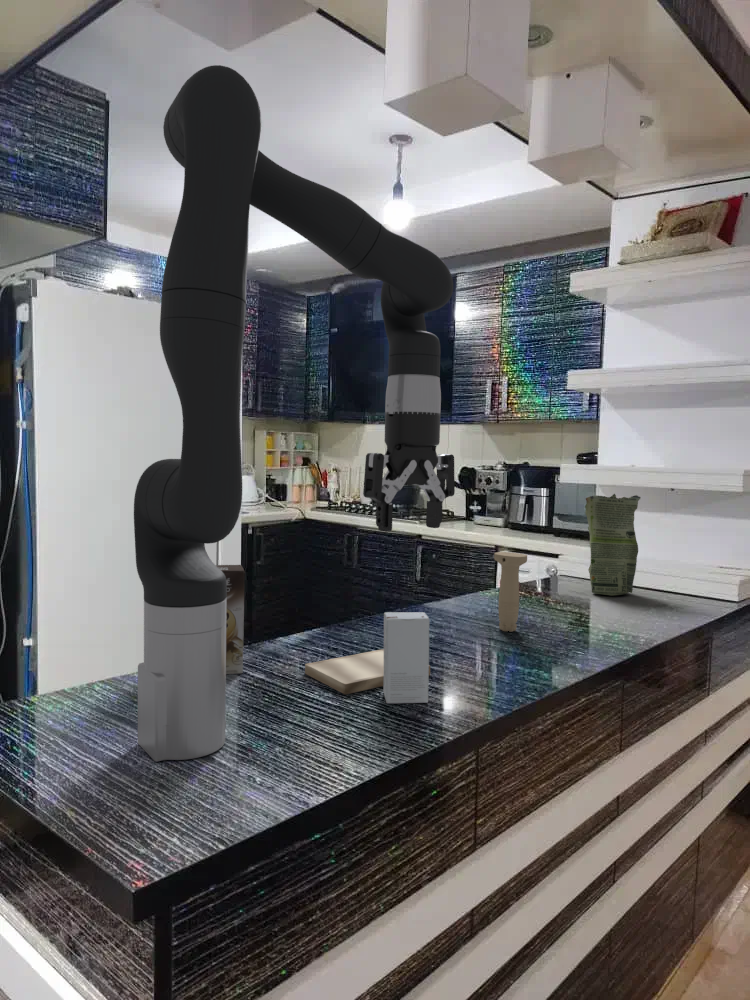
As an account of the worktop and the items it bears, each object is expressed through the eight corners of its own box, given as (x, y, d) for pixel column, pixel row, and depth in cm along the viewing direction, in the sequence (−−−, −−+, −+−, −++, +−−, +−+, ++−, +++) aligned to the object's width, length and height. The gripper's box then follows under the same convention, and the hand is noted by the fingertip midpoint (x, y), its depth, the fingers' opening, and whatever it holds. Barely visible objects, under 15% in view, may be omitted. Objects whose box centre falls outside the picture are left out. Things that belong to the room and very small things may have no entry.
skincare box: (423, 693, 102) (426, 610, 101) (429, 704, 97) (431, 618, 96) (381, 693, 101) (383, 610, 100) (384, 705, 97) (386, 618, 96)
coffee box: (182, 677, 106) (182, 571, 105) (182, 664, 112) (182, 564, 111) (244, 674, 108) (245, 569, 107) (240, 661, 114) (241, 562, 113)
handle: (515, 635, 134) (518, 557, 133) (486, 629, 139) (489, 553, 138) (528, 631, 138) (531, 555, 137) (500, 625, 142) (503, 551, 141)
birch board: (345, 694, 100) (345, 684, 100) (305, 673, 109) (305, 663, 109) (430, 675, 110) (430, 665, 110) (387, 657, 119) (387, 648, 119)
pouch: (578, 592, 177) (582, 493, 175) (597, 586, 186) (602, 491, 184) (622, 599, 170) (627, 496, 168) (639, 592, 179) (645, 494, 177)
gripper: (433, 413, 103) (430, 524, 105) (354, 408, 95) (351, 528, 96) (470, 412, 97) (465, 529, 99) (388, 407, 89) (384, 535, 90)
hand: (409, 529), depth 97 cm, fingers open, 8 cm apart
